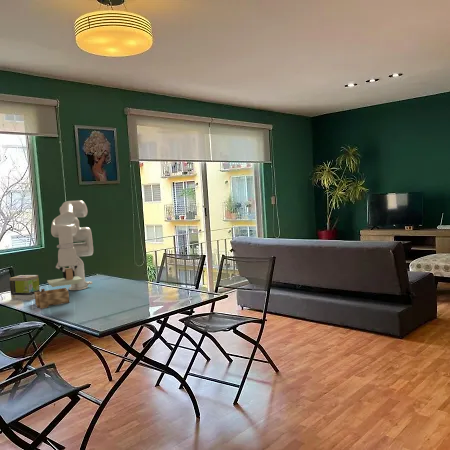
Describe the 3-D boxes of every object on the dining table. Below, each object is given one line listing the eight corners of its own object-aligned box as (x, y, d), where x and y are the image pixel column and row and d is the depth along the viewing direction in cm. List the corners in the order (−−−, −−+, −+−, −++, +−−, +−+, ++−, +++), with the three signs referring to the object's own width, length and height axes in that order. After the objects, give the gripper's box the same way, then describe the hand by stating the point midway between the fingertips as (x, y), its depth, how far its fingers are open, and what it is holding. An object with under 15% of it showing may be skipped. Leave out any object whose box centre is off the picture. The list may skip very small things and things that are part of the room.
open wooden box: (66, 298, 281) (65, 286, 280) (70, 303, 267) (69, 290, 266) (35, 303, 273) (34, 290, 272) (38, 309, 259) (36, 295, 258)
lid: (79, 280, 267) (77, 266, 267) (82, 283, 257) (81, 268, 257) (47, 284, 259) (46, 270, 259) (50, 287, 249) (48, 272, 248)
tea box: (41, 297, 290) (39, 274, 289) (29, 301, 281) (27, 277, 279) (22, 296, 295) (20, 274, 294) (10, 300, 286) (8, 277, 284)
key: (44, 293, 262) (44, 288, 261) (46, 296, 253) (46, 291, 253) (41, 293, 261) (40, 288, 261) (42, 297, 252) (42, 291, 252)
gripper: (52, 248, 251) (54, 280, 252) (82, 245, 258) (85, 276, 260) (50, 247, 257) (53, 278, 259) (80, 244, 265) (82, 275, 266)
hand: (69, 277), depth 259 cm, fingers closed on lid, 3 cm apart
